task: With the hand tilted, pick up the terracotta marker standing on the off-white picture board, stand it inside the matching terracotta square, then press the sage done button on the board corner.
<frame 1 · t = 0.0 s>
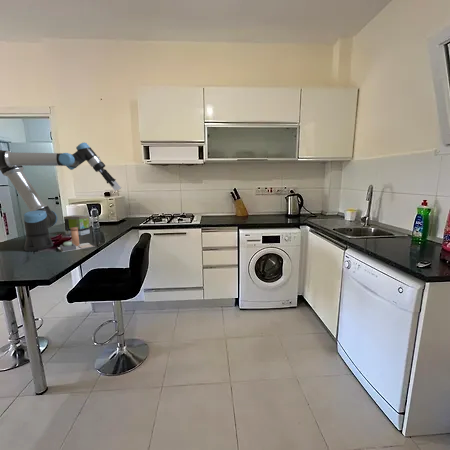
hand: (118, 189, 187), 36 cm above the countertop, tool tilted 35°, fingers open, 13 cm apart
done button: (67, 244, 162), point 4 cm above the countertop, slide at 0.0 cm
board: (76, 248, 168), on the countertop
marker: (76, 245, 172), point 1 cm above the countertop, touching board
tea box: (78, 234, 212), on the countertop
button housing: (68, 250, 162), resting on board
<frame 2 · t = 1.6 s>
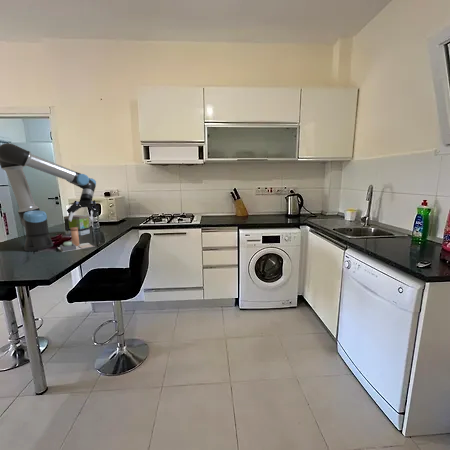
hand: (80, 220, 179), 16 cm above the countertop, tool tilted 45°, fingers open, 13 cm apart
nothing on the countertop moved.
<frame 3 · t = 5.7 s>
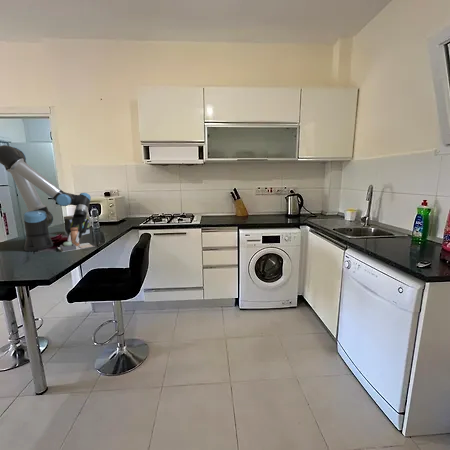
hand: (72, 242, 167), 4 cm above the countertop, tool tilted 45°, fingers closed on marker, 4 cm apart
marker: (76, 245, 172), point 1 cm above the countertop, touching board, gripper
everything else where it was.
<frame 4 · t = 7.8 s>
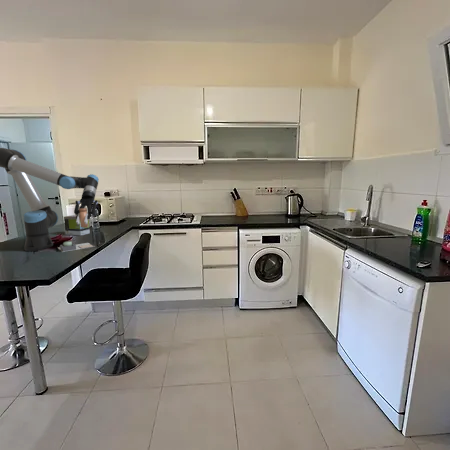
hand: (81, 222, 163), 17 cm above the countertop, tool tilted 45°, fingers closed on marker, 4 cm apart
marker: (84, 227, 167), point 14 cm above the countertop, touching gripper
everything else where it was.
when the fingers open (6 cm above the countertop, at t = 9.9 s): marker drops 1 cm, resting on board.
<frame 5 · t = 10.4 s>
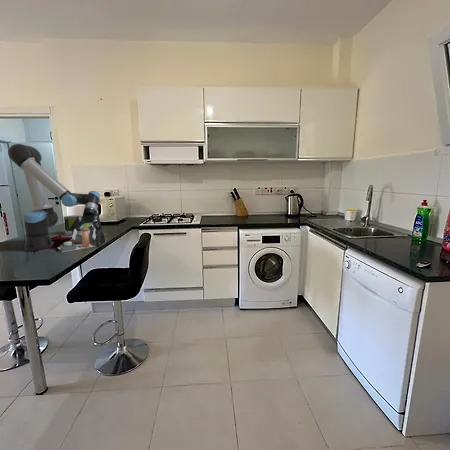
hand: (83, 238, 165), 7 cm above the countertop, tool tilted 45°, fingers open, 11 cm apart
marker: (86, 246, 169), point 1 cm above the countertop, touching board
everything else where it was.
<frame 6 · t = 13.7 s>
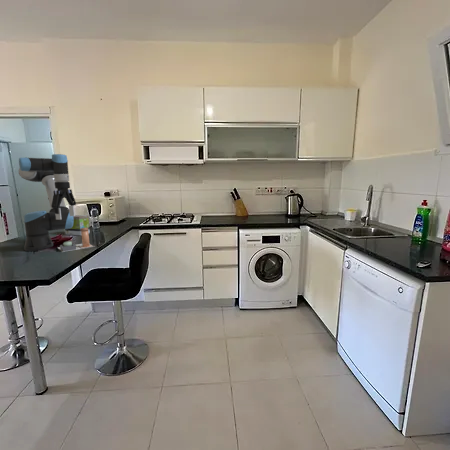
hand: (65, 217, 159), 20 cm above the countertop, tool pointing down, fingers open, 13 cm apart
nothing on the countertop moved.
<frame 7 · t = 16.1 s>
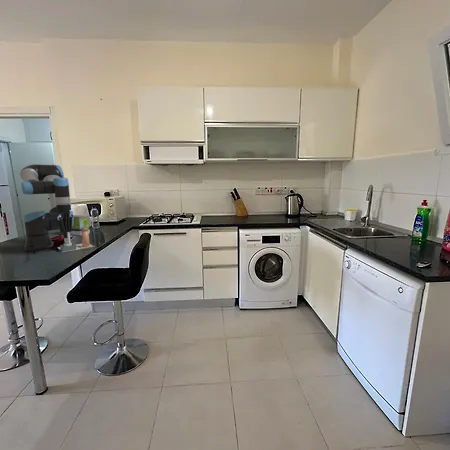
hand: (67, 242, 161), 5 cm above the countertop, tool pointing down, fingers closed
done button: (67, 245, 162), point 3 cm above the countertop, slide at 0.6 cm, touching gripper
everything else where it was.
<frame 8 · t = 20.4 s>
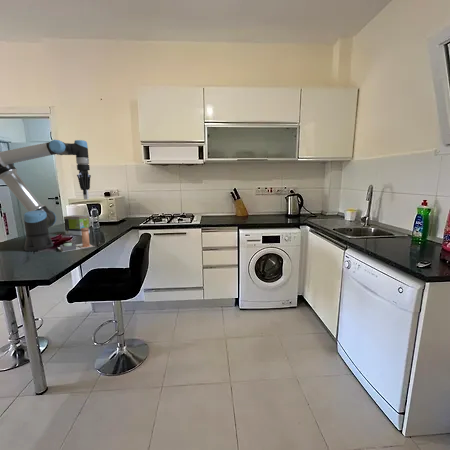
hand: (86, 199, 184), 29 cm above the countertop, tool pointing down, fingers closed
done button: (67, 245, 162), point 3 cm above the countertop, slide at 0.7 cm
everything else where it was.
at the end: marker 0.1 cm from the target spot on the board, point 1.2 cm above the board's base; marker tilted 1°; done button slide at 0.7 cm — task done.
